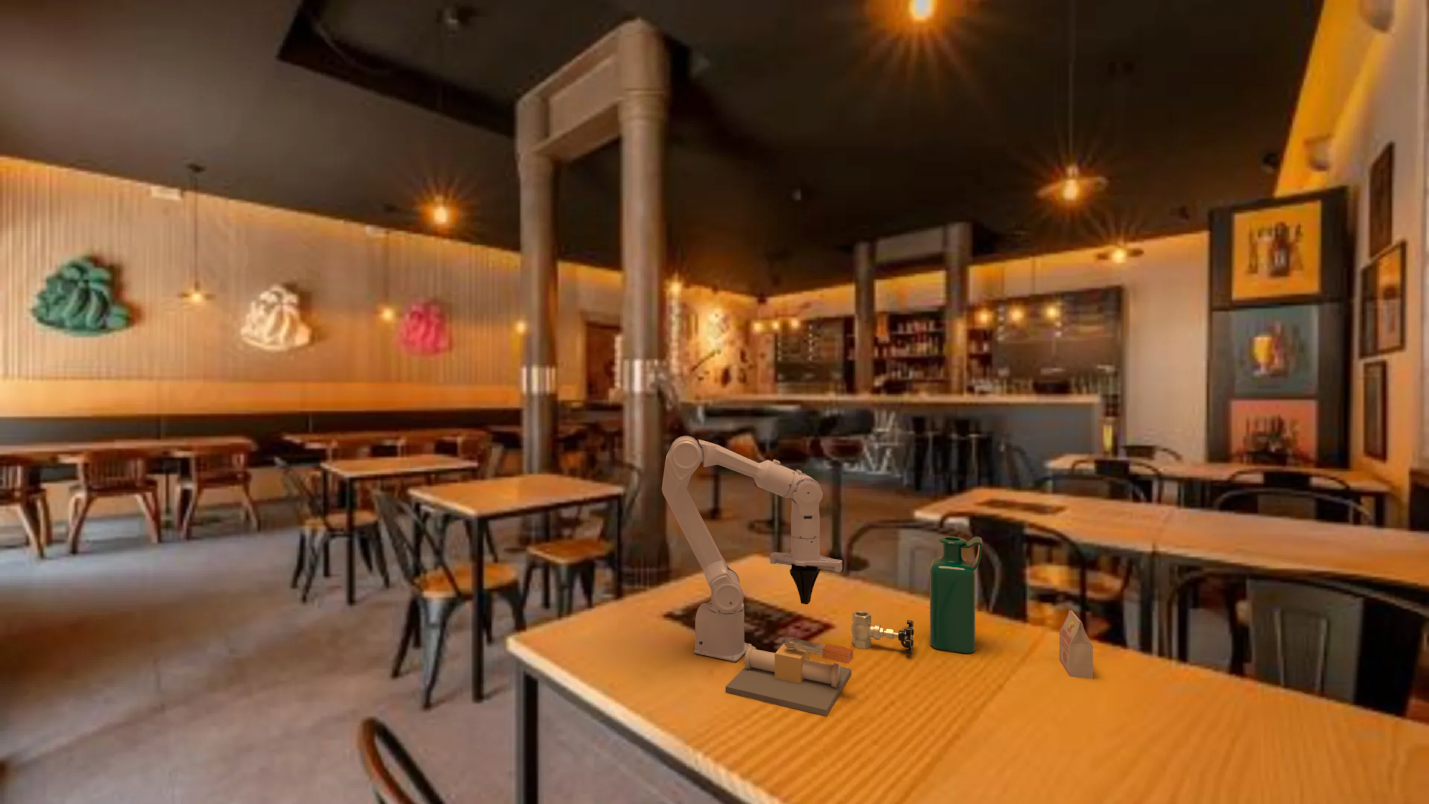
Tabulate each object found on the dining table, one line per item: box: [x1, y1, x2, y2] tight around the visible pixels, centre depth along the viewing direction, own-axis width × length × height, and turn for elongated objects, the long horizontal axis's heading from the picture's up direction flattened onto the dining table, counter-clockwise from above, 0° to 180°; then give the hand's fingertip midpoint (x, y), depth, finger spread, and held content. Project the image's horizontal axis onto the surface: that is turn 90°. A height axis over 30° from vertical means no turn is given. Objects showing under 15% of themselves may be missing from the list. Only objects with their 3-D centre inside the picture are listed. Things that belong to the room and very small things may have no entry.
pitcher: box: [929, 535, 983, 654], centre depth 125 cm, size 10×8×22 cm
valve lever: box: [784, 636, 854, 665], centre depth 108 cm, size 12×3×2 cm, turn 57°
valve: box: [850, 610, 915, 655], centre depth 124 cm, size 7×7×12 cm
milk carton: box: [1059, 609, 1094, 680], centre depth 114 cm, size 4×7×10 cm, turn 165°
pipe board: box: [725, 643, 852, 717], centre depth 109 cm, size 18×16×5 cm
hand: (805, 602), depth 124 cm, fingers closed
